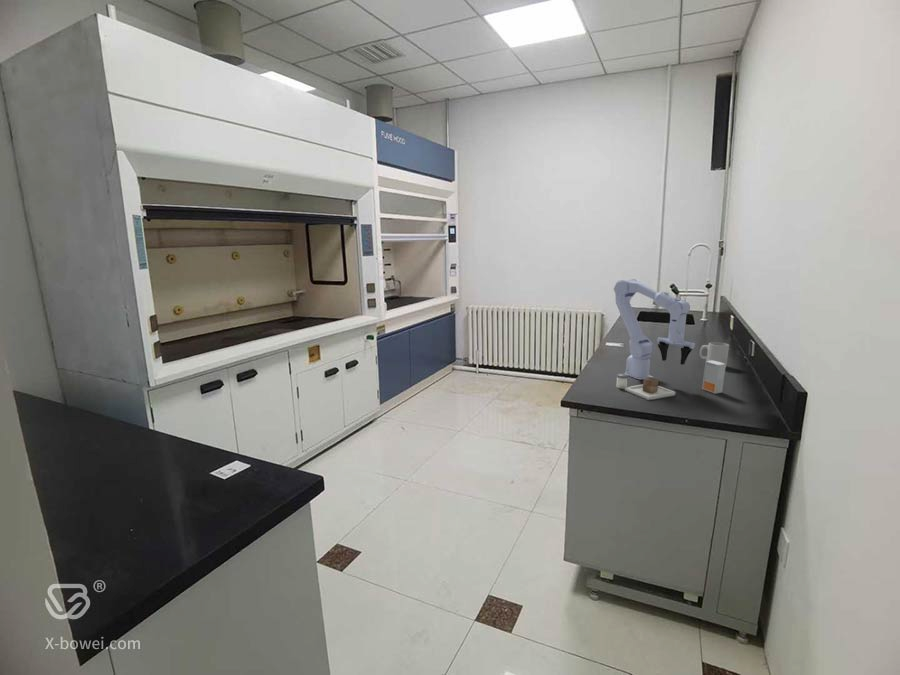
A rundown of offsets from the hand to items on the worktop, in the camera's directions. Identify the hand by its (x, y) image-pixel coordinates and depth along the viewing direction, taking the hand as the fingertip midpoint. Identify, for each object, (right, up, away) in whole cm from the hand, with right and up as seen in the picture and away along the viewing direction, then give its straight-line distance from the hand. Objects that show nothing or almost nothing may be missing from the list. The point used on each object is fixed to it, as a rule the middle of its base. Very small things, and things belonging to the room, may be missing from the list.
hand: (673, 362), depth 184 cm
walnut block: (-13, -11, -7) cm, 19 cm away
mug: (+34, -3, +31) cm, 46 cm away
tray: (-13, -12, -7) cm, 19 cm away
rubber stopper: (-9, -10, +3) cm, 13 cm away
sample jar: (-22, -10, 0) cm, 24 cm away
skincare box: (+13, -12, -5) cm, 18 cm away
